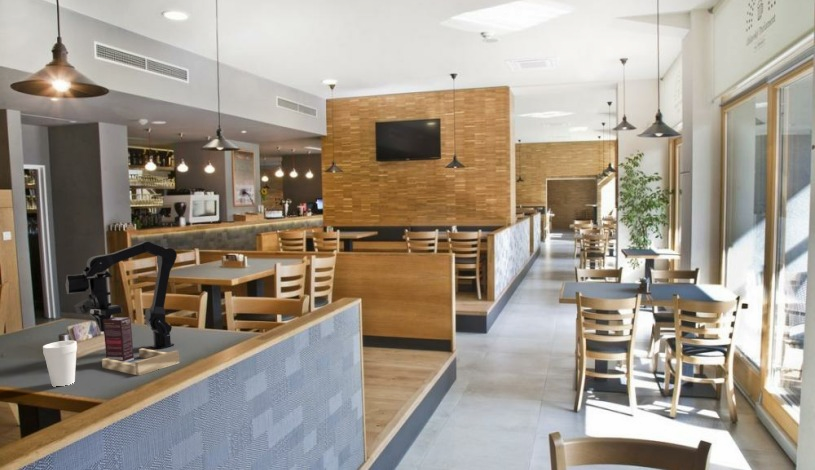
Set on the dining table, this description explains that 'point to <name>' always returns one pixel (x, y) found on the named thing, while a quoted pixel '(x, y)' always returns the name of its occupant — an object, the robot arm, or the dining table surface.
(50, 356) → the foam cup
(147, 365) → the frame
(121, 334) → the supplement box
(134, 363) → the felt pad
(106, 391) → the dining table surface
